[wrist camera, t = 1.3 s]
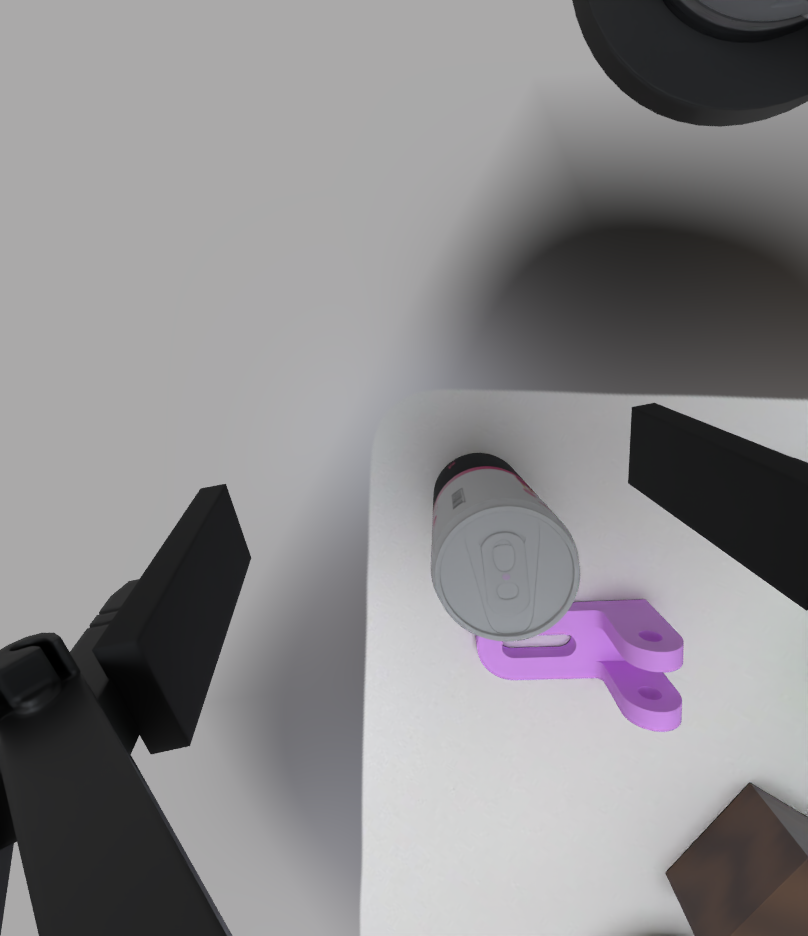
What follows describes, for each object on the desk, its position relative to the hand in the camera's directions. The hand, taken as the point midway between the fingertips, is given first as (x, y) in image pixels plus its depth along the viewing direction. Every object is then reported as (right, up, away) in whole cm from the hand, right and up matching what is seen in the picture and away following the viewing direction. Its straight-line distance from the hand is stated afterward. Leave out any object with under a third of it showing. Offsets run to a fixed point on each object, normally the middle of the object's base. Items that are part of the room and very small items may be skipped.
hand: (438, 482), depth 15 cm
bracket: (+11, -13, +21) cm, 27 cm away
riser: (+29, -32, +23) cm, 49 cm away
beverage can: (+4, -2, +20) cm, 20 cm away
